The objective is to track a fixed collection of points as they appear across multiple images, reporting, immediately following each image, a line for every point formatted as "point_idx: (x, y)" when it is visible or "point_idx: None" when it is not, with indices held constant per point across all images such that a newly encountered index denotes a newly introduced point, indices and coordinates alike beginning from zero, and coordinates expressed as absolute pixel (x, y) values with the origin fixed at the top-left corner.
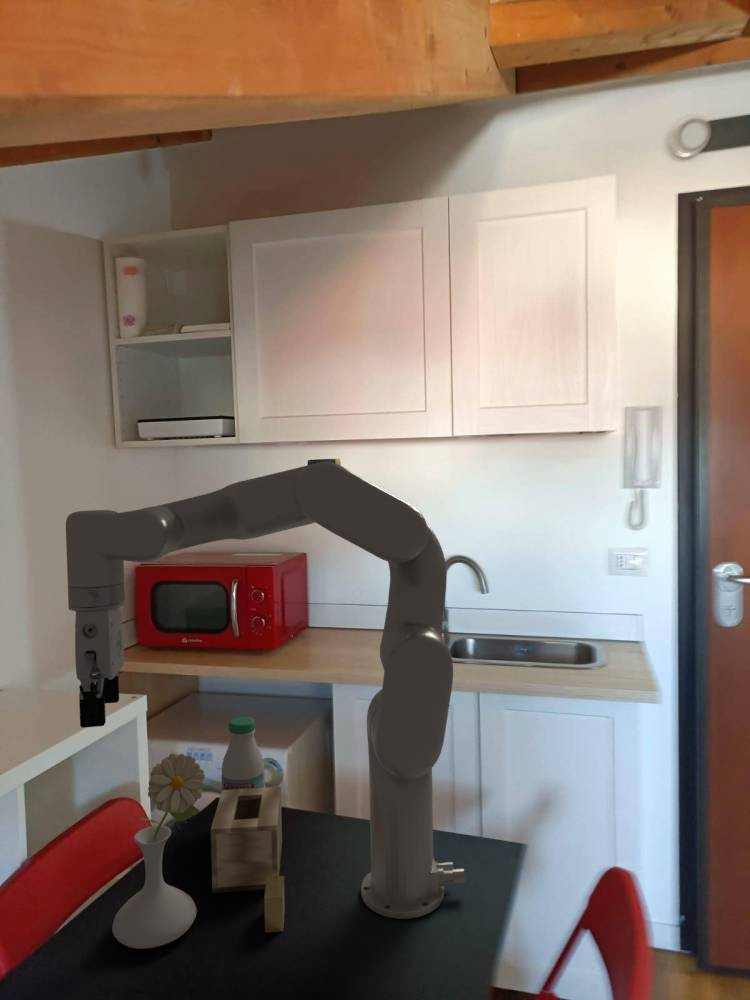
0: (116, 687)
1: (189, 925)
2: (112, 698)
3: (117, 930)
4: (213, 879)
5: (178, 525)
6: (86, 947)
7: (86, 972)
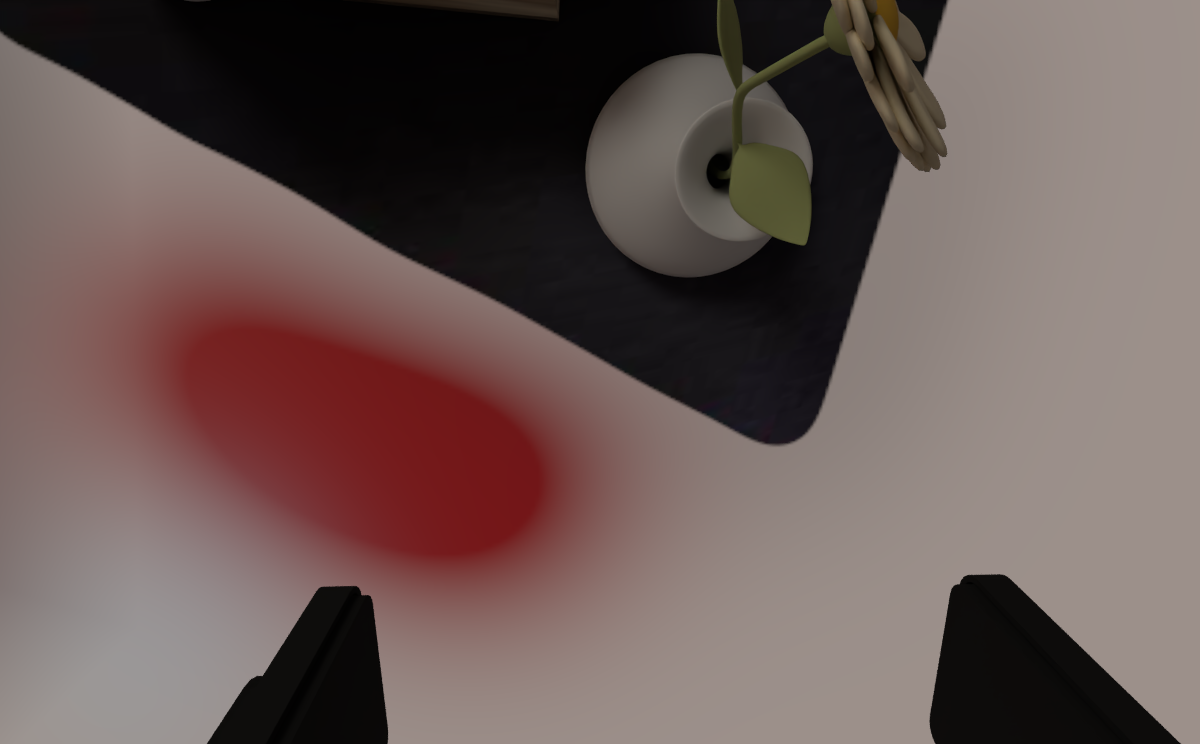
0: (312, 704)
1: (749, 68)
2: (365, 653)
3: (746, 257)
4: (557, 7)
5: None
6: (713, 325)
7: (798, 305)
